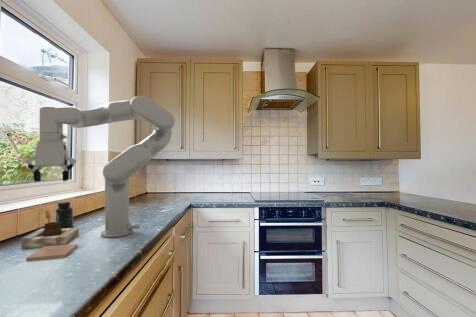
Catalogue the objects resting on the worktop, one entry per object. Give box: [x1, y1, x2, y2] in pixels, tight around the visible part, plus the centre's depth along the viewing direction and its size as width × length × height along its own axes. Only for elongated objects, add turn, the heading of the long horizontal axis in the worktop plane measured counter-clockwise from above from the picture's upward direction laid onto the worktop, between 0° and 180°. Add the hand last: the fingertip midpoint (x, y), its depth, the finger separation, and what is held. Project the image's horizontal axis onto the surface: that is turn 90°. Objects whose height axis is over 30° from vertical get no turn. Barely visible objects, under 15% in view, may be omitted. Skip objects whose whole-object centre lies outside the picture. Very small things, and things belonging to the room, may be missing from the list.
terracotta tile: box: [25, 243, 79, 262], centre depth 89 cm, size 11×11×1 cm
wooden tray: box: [21, 227, 80, 249], centre depth 103 cm, size 14×14×4 cm
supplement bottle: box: [55, 201, 74, 229], centre depth 123 cm, size 7×7×12 cm
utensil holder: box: [43, 209, 62, 236], centre depth 103 cm, size 6×6×12 cm
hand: (51, 181), depth 103 cm, fingers open, 9 cm apart
